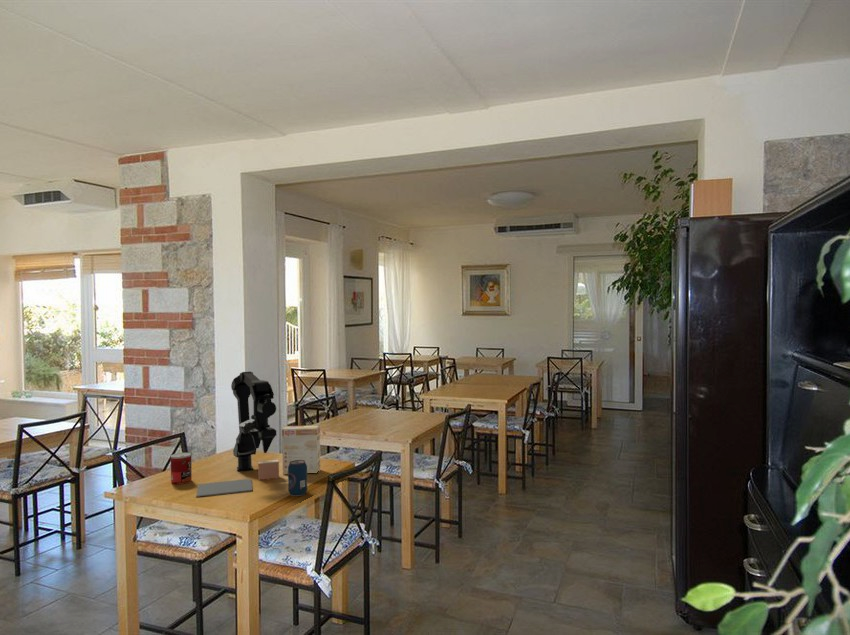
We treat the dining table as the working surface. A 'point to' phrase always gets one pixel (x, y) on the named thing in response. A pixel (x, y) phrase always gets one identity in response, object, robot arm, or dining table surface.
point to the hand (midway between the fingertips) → (261, 450)
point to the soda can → (297, 478)
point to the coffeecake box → (301, 446)
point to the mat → (224, 487)
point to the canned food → (181, 468)
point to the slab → (268, 469)
